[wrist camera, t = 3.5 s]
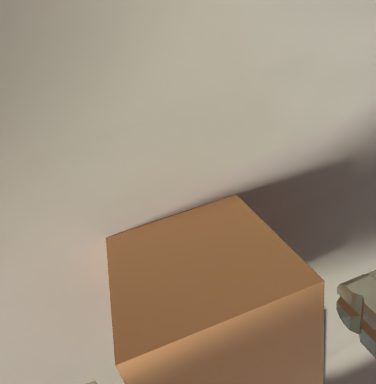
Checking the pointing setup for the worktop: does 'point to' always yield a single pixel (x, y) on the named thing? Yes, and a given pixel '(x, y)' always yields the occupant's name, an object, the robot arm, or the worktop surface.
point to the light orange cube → (214, 301)
